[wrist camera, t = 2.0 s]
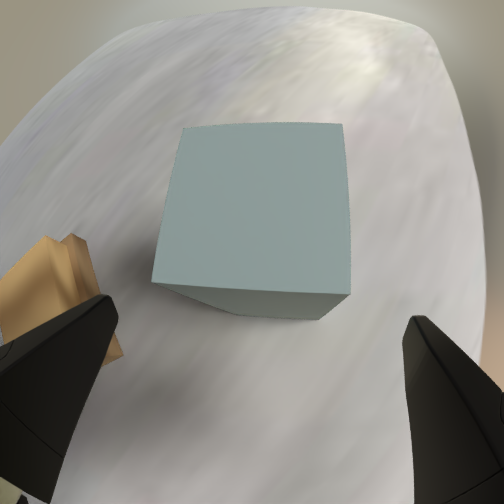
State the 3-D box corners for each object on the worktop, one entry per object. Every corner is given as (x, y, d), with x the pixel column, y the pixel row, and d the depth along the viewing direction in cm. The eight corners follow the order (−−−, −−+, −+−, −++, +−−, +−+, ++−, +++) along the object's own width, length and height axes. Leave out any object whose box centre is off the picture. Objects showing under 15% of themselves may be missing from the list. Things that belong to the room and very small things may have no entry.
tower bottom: (127, 355, 19) (107, 355, 16) (52, 393, 19) (32, 395, 16) (89, 242, 22) (71, 233, 19) (25, 295, 22) (7, 290, 19)
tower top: (94, 342, 17) (70, 340, 14) (35, 378, 17) (13, 378, 14) (66, 245, 19) (45, 235, 17) (14, 292, 19) (-6, 286, 17)
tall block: (318, 319, 17) (350, 293, 6) (237, 315, 18) (151, 281, 7) (321, 240, 18) (342, 123, 8) (244, 237, 19) (183, 128, 9)
